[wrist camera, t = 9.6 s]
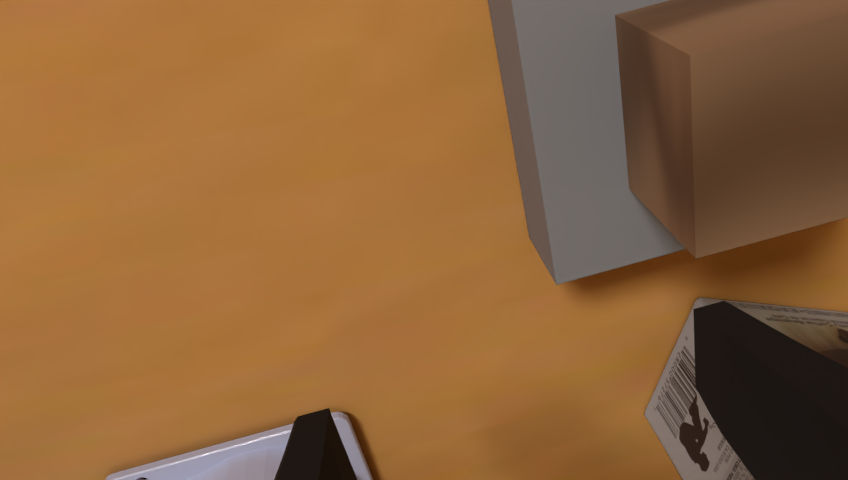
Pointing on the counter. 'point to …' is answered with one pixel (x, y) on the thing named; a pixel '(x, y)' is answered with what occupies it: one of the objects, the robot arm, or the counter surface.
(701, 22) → the walnut block
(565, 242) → the slate base block
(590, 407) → the counter surface
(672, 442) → the coffee box
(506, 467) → the counter surface
